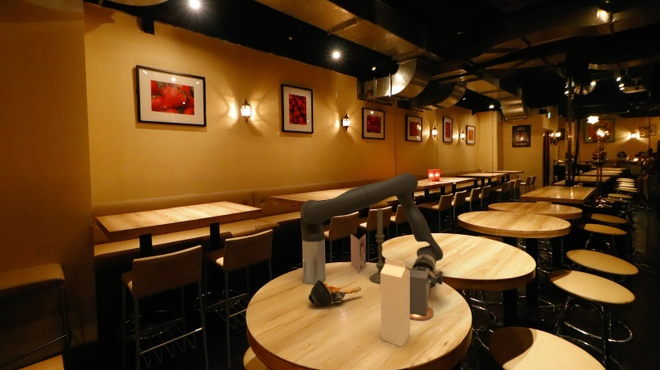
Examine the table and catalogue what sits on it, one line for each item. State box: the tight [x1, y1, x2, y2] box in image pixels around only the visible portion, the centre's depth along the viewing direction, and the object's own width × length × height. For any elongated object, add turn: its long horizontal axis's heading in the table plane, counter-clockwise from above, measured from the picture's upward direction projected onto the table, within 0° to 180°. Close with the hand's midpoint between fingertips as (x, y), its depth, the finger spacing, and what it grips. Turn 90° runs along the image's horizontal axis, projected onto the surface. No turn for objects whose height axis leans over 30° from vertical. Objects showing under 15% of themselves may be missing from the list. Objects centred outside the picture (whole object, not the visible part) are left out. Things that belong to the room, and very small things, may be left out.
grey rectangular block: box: [407, 268, 429, 317], centre depth 96 cm, size 6×6×12 cm
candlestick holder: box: [368, 208, 385, 285], centre depth 122 cm, size 9×9×30 cm
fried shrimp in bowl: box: [308, 280, 362, 307], centre depth 105 cm, size 9×11×18 cm
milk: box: [380, 258, 411, 347], centre depth 82 cm, size 6×6×22 cm
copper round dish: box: [410, 305, 434, 322], centre depth 96 cm, size 10×10×6 cm
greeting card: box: [350, 233, 367, 274], centre depth 136 cm, size 11×7×15 cm, turn 160°
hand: (417, 283), depth 98 cm, fingers open, 8 cm apart
